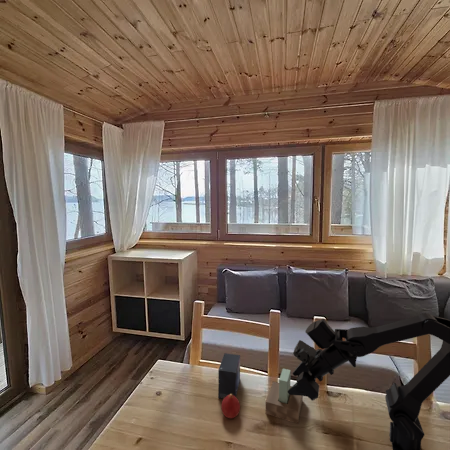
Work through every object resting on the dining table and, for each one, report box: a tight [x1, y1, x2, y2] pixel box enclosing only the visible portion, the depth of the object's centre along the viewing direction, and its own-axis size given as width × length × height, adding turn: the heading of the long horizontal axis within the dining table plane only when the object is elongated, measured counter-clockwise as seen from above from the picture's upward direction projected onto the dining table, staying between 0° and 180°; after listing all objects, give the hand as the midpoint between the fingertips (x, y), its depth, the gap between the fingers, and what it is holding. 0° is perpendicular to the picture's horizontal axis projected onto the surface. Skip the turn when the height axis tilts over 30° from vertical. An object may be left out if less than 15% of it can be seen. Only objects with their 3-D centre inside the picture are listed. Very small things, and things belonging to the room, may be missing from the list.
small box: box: [217, 352, 241, 400], centre depth 96 cm, size 11×6×10 cm, turn 168°
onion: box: [221, 394, 241, 419], centre depth 83 cm, size 6×6×8 cm
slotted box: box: [265, 381, 304, 425], centre depth 86 cm, size 10×10×5 cm
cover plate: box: [278, 368, 292, 404], centre depth 86 cm, size 2×6×11 cm, turn 156°
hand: (291, 383), depth 85 cm, fingers open, 9 cm apart
